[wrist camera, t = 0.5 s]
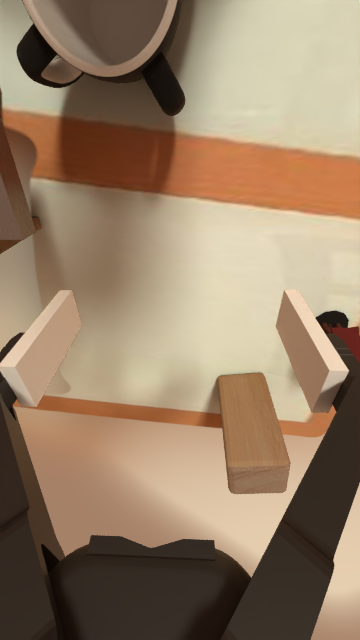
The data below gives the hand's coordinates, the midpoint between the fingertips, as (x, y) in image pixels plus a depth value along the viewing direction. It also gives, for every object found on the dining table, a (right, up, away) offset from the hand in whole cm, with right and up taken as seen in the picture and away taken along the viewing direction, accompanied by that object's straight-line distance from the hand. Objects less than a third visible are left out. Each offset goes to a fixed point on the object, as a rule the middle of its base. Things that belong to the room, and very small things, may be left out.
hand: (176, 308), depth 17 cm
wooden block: (+14, -16, +44) cm, 48 cm away
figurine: (+28, -1, +33) cm, 43 cm away
